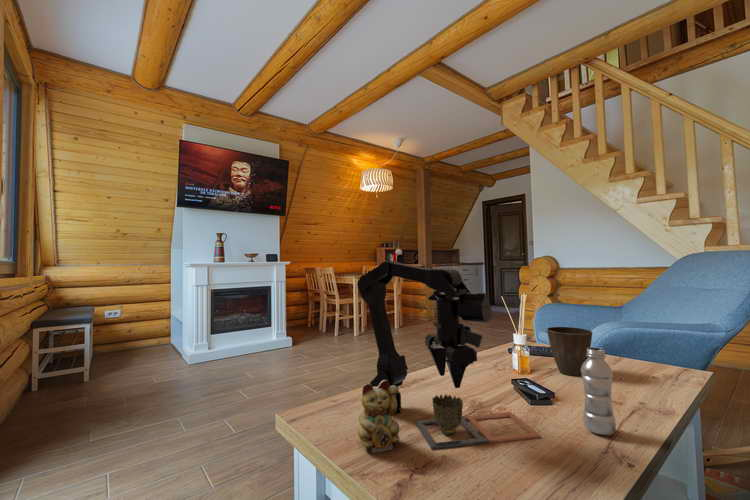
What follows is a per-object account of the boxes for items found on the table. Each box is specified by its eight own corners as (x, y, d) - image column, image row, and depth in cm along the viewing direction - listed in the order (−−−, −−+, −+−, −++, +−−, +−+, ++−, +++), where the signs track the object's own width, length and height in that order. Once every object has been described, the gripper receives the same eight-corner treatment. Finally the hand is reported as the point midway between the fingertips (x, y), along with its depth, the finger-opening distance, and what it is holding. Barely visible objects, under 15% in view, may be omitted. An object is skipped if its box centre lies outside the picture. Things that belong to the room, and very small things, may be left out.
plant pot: (551, 365, 137) (550, 325, 138) (595, 371, 129) (593, 328, 129) (545, 374, 125) (543, 331, 126) (593, 382, 116) (590, 335, 117)
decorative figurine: (365, 459, 72) (364, 387, 73) (352, 440, 80) (351, 376, 81) (404, 448, 76) (403, 381, 77) (388, 432, 84) (387, 371, 85)
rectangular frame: (431, 449, 76) (431, 446, 76) (415, 423, 88) (415, 420, 88) (540, 437, 80) (540, 435, 80) (510, 414, 93) (510, 411, 93)
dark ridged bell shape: (464, 442, 79) (463, 406, 79) (432, 439, 80) (431, 404, 81) (462, 426, 86) (462, 394, 86) (433, 424, 87) (432, 393, 88)
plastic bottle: (617, 442, 78) (613, 353, 79) (583, 434, 81) (579, 350, 82) (615, 430, 83) (611, 347, 84) (583, 423, 87) (579, 344, 88)
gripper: (497, 323, 78) (499, 392, 77) (461, 312, 96) (462, 368, 95) (451, 325, 76) (453, 396, 75) (423, 314, 94) (425, 371, 93)
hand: (449, 381), depth 85 cm, fingers open, 9 cm apart
